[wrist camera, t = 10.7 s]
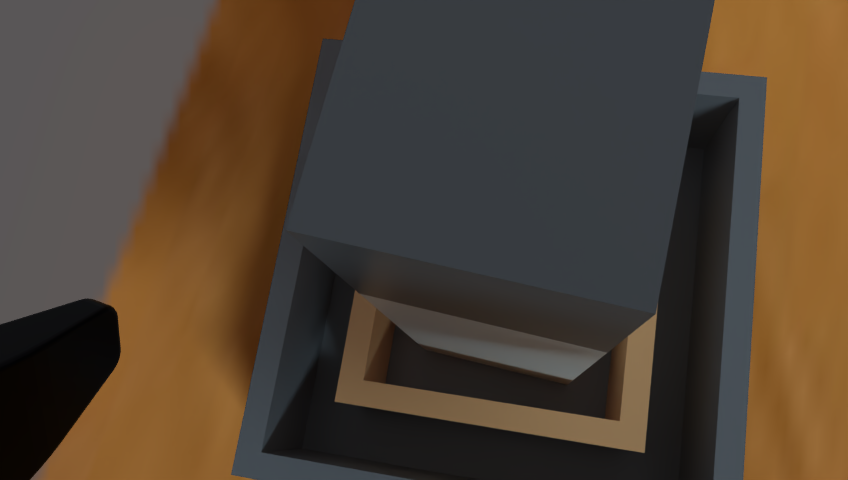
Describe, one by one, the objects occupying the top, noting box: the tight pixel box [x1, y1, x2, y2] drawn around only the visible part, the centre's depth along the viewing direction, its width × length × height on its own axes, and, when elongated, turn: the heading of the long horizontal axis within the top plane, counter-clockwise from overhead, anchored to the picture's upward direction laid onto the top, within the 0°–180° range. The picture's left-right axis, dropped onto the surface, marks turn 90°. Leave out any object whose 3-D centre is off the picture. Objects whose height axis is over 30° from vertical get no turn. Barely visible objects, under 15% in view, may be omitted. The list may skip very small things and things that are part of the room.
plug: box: [285, 0, 715, 385], centre depth 14 cm, size 4×4×13 cm
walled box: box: [231, 39, 767, 480], centre depth 19 cm, size 11×11×4 cm
